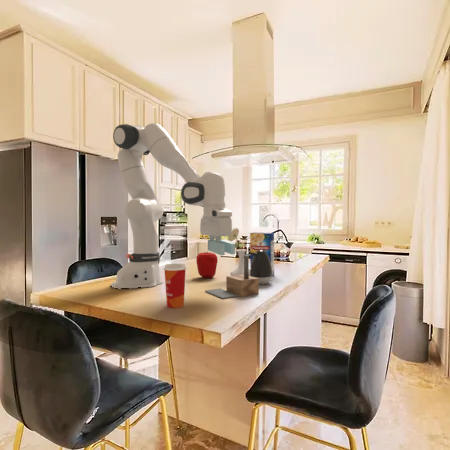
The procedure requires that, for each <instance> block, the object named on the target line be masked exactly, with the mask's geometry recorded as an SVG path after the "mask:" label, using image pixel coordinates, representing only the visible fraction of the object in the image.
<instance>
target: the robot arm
mask: <svg viewBox="0 0 450 450" xmlns="http://www.w3.org/2000/svg"><path fill="white" fill-rule="evenodd" d="M112 137H113V142H114V144H115V145H116V146H117V147H118V148H119V149H120V150H119V151H118V153H117V162H118V168H119V171H120V172H119V173H120V175H121V178H122V182H123V184H124V188H125V191H126V192H127V194H129V195H130V197H131V199H130V200H129V201H128V202H127V203H126V205H125V206H124V215H125V216H126V217H127V219H128V221H129V224H130V228H131V232H132V238H133V239H132V241H133V243H132V244H133V253H131V254H130V253H126V258H127V259H128V262H127V263H126V264H125V265H123V266H122V268H120V269H119V270H118V271H117V273H116V277H115V278H116V279H115V281H113V282H111V283H110V286H112V287H111V288H113V287H115V288H119V289H118V290H122V289H121V288H129V289H138V287H141V288H153V287H156V286H157V285H161V284H162V283H163V280H162V276H161V271H160V252H159V235H158V233H157V230H156V227H155V222H157V221H158V220H160V219H161V218H162V217H163V214H164V207H163V206H162V204H161V203H160V201H159V199H158V197H157V196H156V193H155V190H153V188H152V185H151V183H150V181H149V178H148V177H149V176H148V174H147V171H146V168H145V165H144V162H143V155H144V156H147V155H149V154H151V156H152V157H153V159H155V161H156V162H157V163H159V165H161V166H163V167H165V168H167V169H169V170H171V171H172V172H175V173H176V174H178V175H179V176H180V177H181V178H182V179H183V180H184V181H185V182H186V183H184V184H183V185H182V187H181V191H180V197H181V200H182V201H183V203H185V204H187V205H190V206H196V207H197V206H199V207H202V208H203V215H202V216H201V219H200V222H199V223H200V225H199V226H200V227H199V228H200V229H199V232H200V235H201V236H208V240H215V241H216V242H219V243H220V241H221V240H222V237H228V236H230V235H231V233H232V230H233V221H232V217H233V211H232V210H230V209H228V208H226V201H225V196H226V188H225V187H226V186H225V185H226V183H225V179H224V176H223V175H222V174H220V173H217V172H211V171H207V172H204V174H202V175H201V176H200V174H198V173H197V171H196V169H194V167H193V166H192V165H191V164H190V162H189V161H188V160H187V158H186V157H185V156H184V154H183V153H182V151H181V150H180V148H179V147H178V146H177V144H176V143H175V141H174V139H173V137H171V135H170V134H169V133H168V132H167V130H166V129H165V128H164V127H162V125H160V124H159V123H156V122H151V123H148V124H147V125H145V126H143V125H142V126H141V125H137V124H136V125H131V124H129V123H127V124H126V123H123V124H118V125H117V126H116V127H115V129H114V131H113V135H112ZM115 288H114V289H115Z"/></svg>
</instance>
